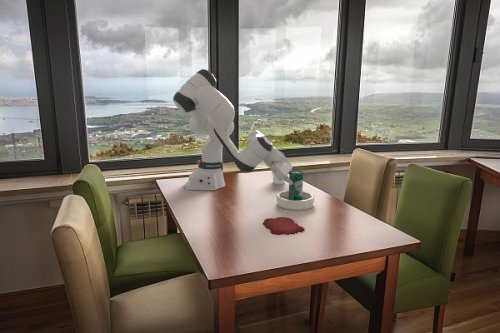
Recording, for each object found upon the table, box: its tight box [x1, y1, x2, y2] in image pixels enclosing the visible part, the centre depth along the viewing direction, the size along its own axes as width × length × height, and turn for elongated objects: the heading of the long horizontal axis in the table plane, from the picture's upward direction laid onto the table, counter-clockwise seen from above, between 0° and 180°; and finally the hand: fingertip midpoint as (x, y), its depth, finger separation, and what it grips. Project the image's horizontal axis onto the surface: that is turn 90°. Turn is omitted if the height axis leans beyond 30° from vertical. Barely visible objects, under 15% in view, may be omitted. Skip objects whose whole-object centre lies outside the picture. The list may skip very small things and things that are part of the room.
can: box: [288, 169, 304, 201], centre depth 176 cm, size 6×6×15 cm
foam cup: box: [271, 171, 286, 185], centre depth 213 cm, size 10×9×13 cm
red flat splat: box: [262, 216, 305, 236], centre depth 151 cm, size 18×14×2 cm
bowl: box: [275, 189, 315, 212], centre depth 177 cm, size 17×17×4 cm
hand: (293, 181), depth 176 cm, fingers open, 8 cm apart
